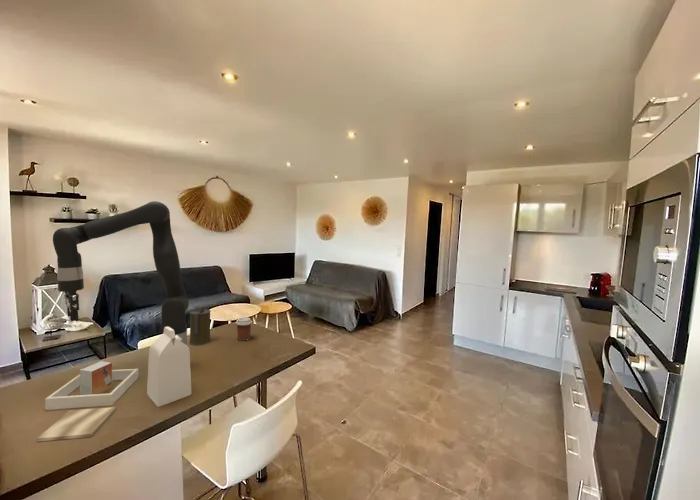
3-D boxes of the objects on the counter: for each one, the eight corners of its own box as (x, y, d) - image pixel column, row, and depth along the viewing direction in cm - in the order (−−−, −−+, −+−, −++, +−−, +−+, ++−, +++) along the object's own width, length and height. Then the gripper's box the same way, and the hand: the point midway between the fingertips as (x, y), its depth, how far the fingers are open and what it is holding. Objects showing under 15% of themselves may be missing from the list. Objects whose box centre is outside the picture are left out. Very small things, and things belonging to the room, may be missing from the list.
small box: (91, 399, 111) (91, 371, 111) (79, 396, 113) (78, 369, 112) (112, 388, 119) (112, 362, 119) (101, 386, 120) (100, 360, 120)
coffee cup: (242, 343, 169) (242, 322, 168) (231, 339, 174) (232, 319, 173) (255, 338, 177) (255, 318, 176) (245, 335, 182) (245, 315, 181)
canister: (194, 338, 174) (194, 304, 172) (212, 338, 175) (213, 304, 173) (185, 345, 163) (186, 309, 161) (206, 345, 164) (206, 309, 162)
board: (116, 409, 106) (116, 406, 106) (91, 436, 92) (91, 433, 92) (69, 413, 103) (69, 410, 103) (36, 441, 89) (36, 438, 89)
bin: (138, 377, 128) (138, 368, 127) (111, 405, 108) (111, 394, 108) (83, 380, 124) (83, 371, 123) (45, 410, 104) (45, 398, 104)
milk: (146, 394, 116) (146, 328, 114) (179, 383, 125) (179, 321, 123) (158, 407, 108) (157, 336, 107) (191, 394, 117) (191, 329, 115)
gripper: (86, 279, 118) (88, 320, 119) (80, 275, 127) (82, 312, 128) (59, 281, 112) (62, 324, 113) (55, 277, 122) (57, 316, 123)
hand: (72, 318), depth 121 cm, fingers open, 8 cm apart
